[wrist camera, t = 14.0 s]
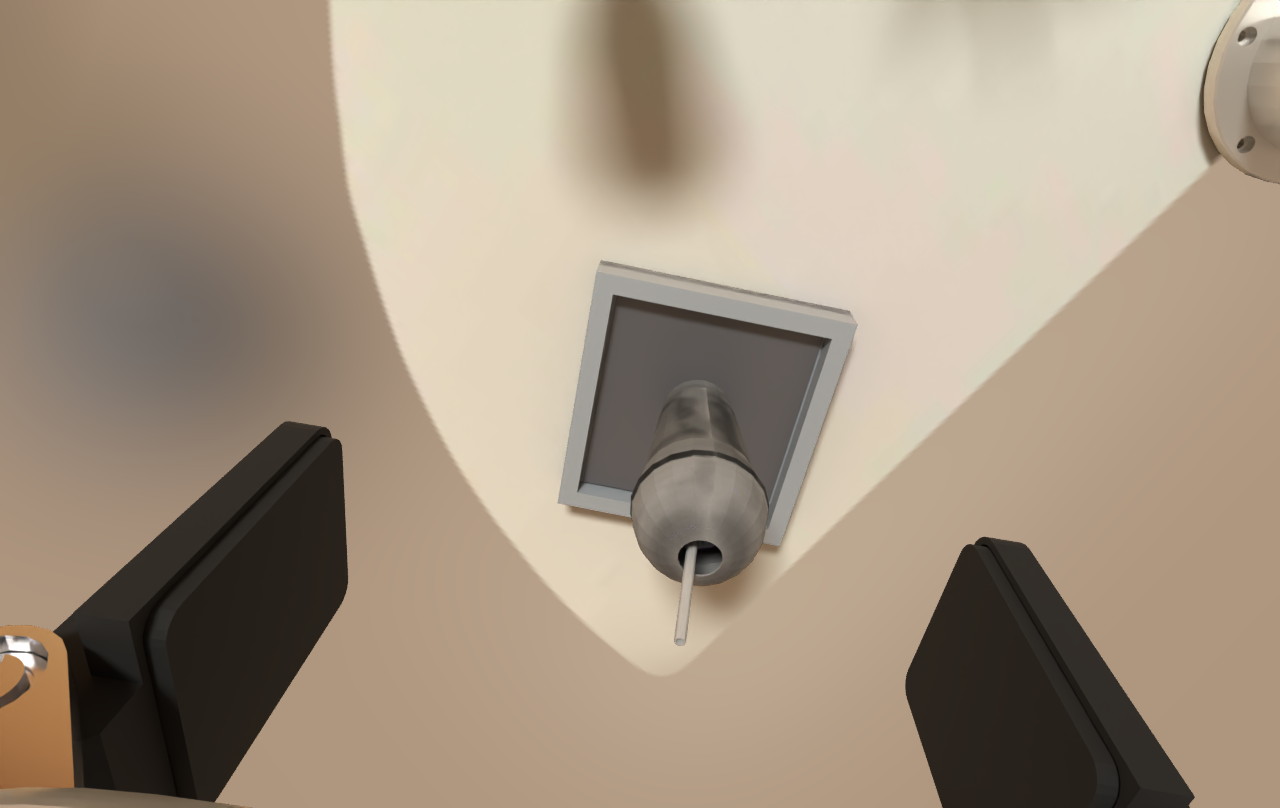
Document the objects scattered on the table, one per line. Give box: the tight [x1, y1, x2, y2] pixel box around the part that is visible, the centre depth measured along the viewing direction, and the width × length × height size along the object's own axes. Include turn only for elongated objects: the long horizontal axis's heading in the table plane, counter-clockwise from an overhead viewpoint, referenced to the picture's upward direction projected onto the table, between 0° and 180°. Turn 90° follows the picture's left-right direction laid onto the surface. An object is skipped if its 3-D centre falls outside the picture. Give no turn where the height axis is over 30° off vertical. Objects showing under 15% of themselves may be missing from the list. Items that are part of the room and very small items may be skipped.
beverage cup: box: [630, 380, 770, 646], centre depth 39 cm, size 7×7×20 cm
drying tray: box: [558, 260, 857, 546], centre depth 48 cm, size 16×17×2 cm
